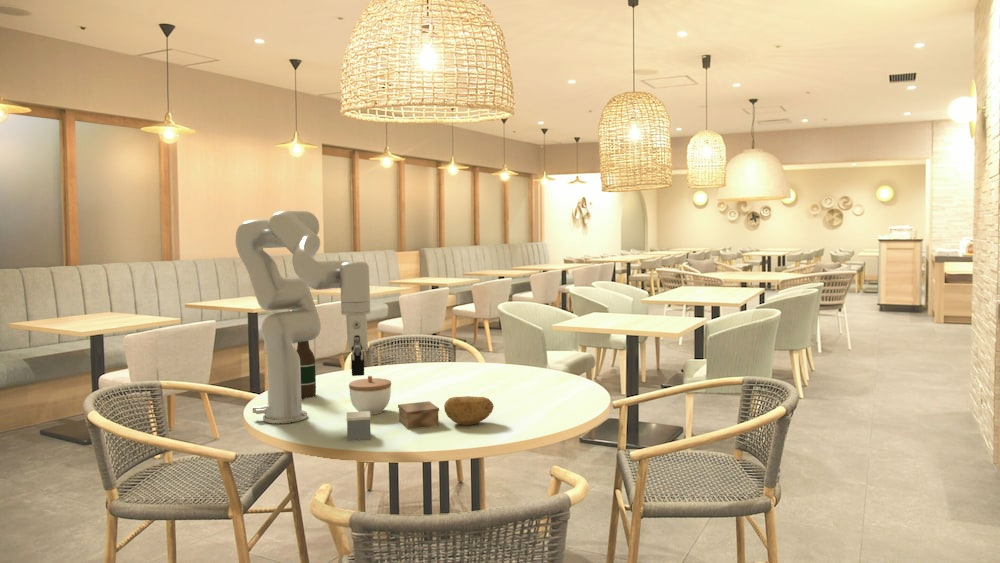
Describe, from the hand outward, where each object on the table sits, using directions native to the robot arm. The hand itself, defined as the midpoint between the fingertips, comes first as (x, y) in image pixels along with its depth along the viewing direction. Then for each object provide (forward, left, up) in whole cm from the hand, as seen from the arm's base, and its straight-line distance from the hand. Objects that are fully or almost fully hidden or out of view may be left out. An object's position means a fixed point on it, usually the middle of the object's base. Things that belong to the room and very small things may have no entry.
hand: (357, 372), depth 196 cm
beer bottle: (-17, +54, -18) cm, 60 cm away
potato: (+31, +6, -18) cm, 36 cm away
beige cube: (0, 0, -18) cm, 18 cm away
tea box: (+17, +10, -18) cm, 27 cm away
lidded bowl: (+4, +27, -18) cm, 33 cm away
